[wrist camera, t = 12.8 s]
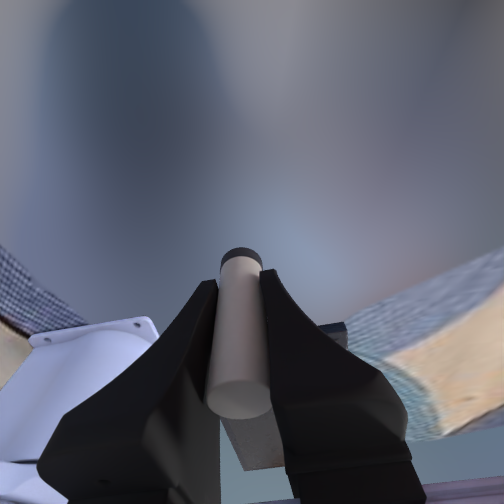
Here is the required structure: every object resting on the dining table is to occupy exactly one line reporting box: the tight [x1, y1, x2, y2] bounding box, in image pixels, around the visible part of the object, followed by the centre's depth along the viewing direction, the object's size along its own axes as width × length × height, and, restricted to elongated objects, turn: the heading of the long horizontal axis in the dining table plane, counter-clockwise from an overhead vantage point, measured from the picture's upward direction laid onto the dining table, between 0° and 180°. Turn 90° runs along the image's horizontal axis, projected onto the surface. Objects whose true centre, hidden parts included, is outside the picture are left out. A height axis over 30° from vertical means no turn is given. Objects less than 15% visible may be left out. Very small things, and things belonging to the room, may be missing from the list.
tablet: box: [220, 322, 348, 471], centre depth 26 cm, size 12×20×1 cm, turn 11°
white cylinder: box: [206, 247, 272, 419], centre depth 11 cm, size 2×2×7 cm
